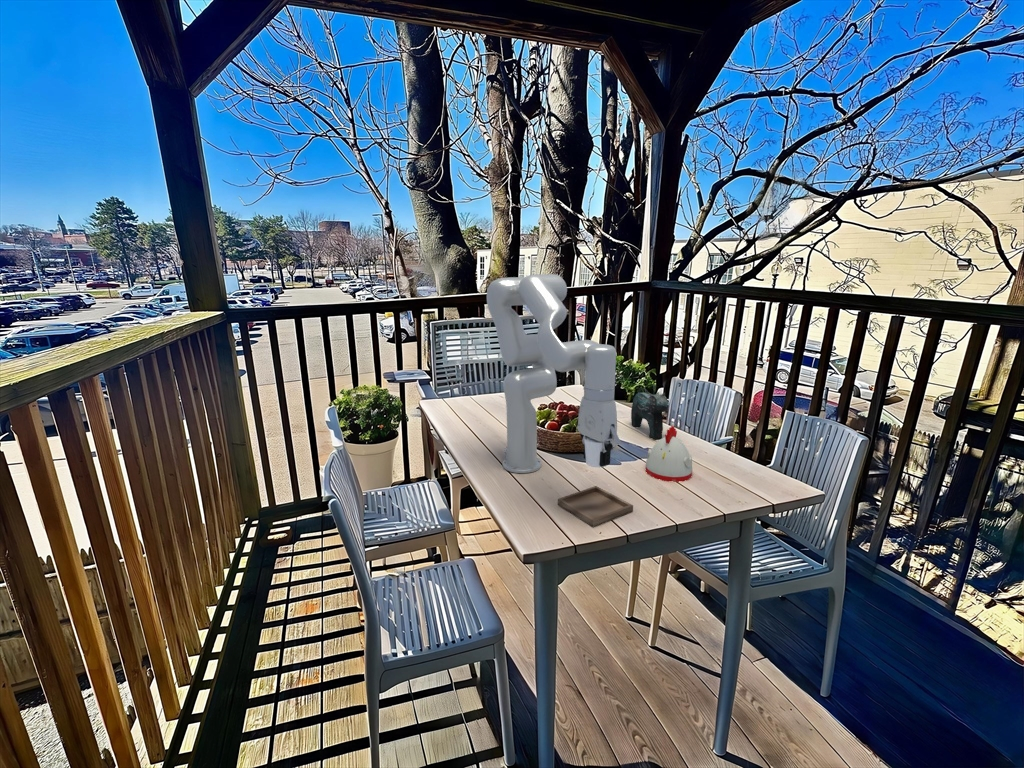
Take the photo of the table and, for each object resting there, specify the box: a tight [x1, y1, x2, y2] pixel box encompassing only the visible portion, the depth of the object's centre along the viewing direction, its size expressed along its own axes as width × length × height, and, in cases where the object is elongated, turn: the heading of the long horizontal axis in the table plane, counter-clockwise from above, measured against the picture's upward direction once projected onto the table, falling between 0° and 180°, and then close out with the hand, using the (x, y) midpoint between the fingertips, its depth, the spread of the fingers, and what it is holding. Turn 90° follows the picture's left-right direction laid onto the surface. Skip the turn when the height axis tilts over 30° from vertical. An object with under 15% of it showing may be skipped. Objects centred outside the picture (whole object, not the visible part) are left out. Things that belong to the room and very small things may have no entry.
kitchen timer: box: [645, 425, 693, 483], centre depth 148 cm, size 14×14×15 cm
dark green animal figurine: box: [630, 383, 669, 441], centre depth 182 cm, size 20×6×20 cm, turn 14°
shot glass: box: [584, 436, 609, 469], centre depth 123 cm, size 7×7×7 cm
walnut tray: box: [557, 485, 634, 528], centre depth 127 cm, size 14×14×2 cm
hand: (596, 460), depth 124 cm, fingers closed on shot glass, 5 cm apart
